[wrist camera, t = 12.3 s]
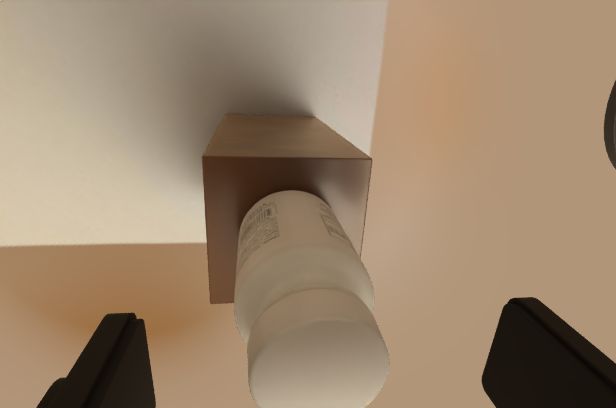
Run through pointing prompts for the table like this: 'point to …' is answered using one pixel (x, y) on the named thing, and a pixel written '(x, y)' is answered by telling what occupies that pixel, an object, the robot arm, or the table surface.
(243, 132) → the display block
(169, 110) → the table surface
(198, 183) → the table surface
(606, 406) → the robot arm
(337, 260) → the pill bottle
